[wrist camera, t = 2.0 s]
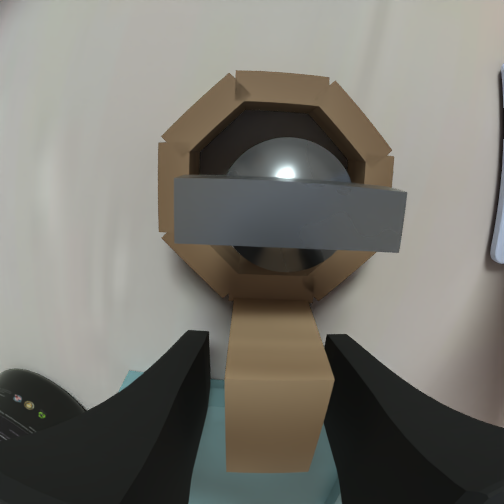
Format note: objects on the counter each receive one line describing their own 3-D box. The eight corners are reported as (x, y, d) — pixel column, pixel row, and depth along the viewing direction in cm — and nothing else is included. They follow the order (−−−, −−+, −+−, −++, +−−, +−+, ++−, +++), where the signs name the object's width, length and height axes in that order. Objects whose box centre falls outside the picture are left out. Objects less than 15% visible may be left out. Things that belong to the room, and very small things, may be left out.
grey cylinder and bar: (336, 149, 9) (410, 148, 4) (329, 227, 10) (391, 291, 5) (213, 142, 9) (174, 131, 4) (211, 222, 10) (175, 285, 5)
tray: (387, 377, 11) (400, 400, 10) (324, 516, 16) (327, 533, 14) (129, 370, 11) (117, 394, 10) (171, 513, 15) (168, 529, 14)
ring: (176, 84, 8) (105, 28, 4) (375, 97, 8) (472, 62, 4) (180, 354, 11) (146, 462, 6) (342, 358, 11) (382, 462, 6)
